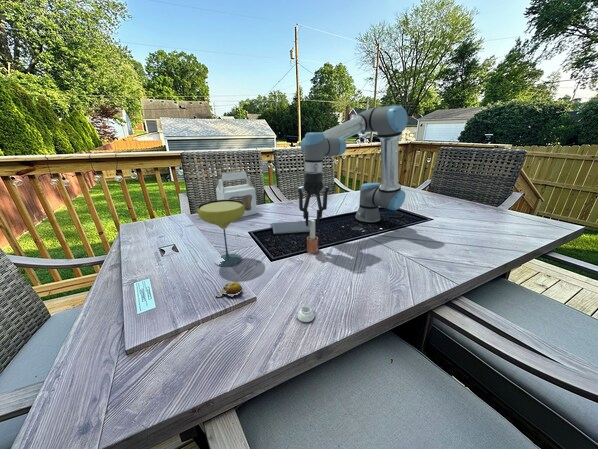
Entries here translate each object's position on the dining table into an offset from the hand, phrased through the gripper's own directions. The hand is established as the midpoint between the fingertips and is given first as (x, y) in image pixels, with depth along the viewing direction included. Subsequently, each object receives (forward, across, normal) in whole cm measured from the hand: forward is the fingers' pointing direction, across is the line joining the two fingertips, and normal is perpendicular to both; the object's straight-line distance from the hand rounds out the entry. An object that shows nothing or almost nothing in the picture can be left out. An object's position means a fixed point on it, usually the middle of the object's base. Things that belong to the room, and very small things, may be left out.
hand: (312, 224), depth 110 cm
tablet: (+13, -5, +31) cm, 34 cm away
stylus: (+13, 0, 0) cm, 13 cm away
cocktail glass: (+14, -38, -2) cm, 40 cm away
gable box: (+14, -38, +63) cm, 75 cm away
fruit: (+14, -35, -25) cm, 45 cm away
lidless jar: (+14, -11, -42) cm, 45 cm away
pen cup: (+13, 0, 0) cm, 13 cm away
